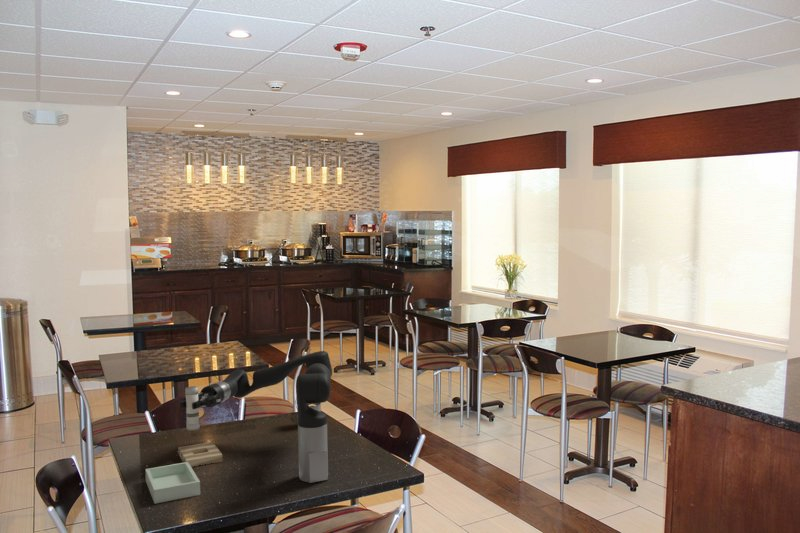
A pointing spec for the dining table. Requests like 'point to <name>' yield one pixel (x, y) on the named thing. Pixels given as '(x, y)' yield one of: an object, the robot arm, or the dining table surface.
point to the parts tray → (172, 482)
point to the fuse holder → (200, 454)
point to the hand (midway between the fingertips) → (187, 405)
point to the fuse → (191, 413)
